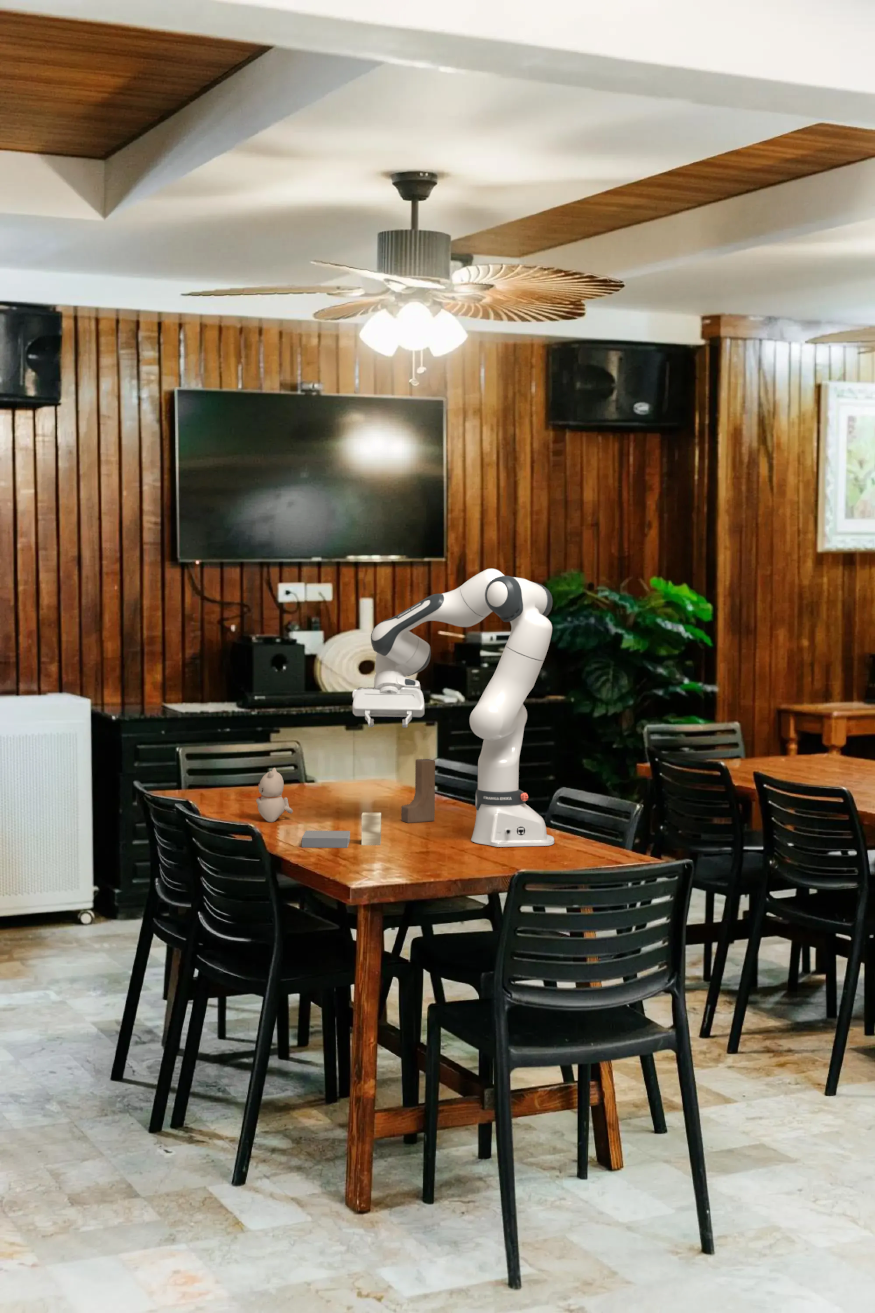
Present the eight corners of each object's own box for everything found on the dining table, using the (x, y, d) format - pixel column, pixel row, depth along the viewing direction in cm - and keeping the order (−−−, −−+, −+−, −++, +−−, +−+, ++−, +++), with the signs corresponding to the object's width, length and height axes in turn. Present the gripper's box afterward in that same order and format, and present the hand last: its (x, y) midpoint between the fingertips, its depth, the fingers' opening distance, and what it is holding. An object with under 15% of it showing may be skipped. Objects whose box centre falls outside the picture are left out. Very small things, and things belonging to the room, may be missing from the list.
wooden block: (407, 823, 445) (408, 761, 445) (400, 821, 449) (401, 760, 449) (435, 821, 450) (435, 760, 449) (428, 819, 454) (428, 758, 453)
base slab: (350, 840, 416) (350, 831, 415) (347, 847, 404) (347, 838, 403) (305, 839, 416) (305, 830, 415) (301, 847, 404) (301, 838, 403)
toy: (260, 816, 456) (260, 766, 455) (295, 817, 455) (295, 766, 455) (253, 822, 444) (254, 771, 443) (289, 823, 443) (290, 771, 442)
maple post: (380, 842, 413) (381, 812, 413) (380, 845, 408) (380, 815, 408) (362, 842, 413) (362, 812, 413) (361, 845, 408) (361, 815, 408)
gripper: (352, 680, 432) (350, 718, 423) (424, 681, 432) (424, 719, 423) (353, 694, 437) (350, 732, 428) (424, 696, 437) (424, 733, 428)
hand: (387, 726), depth 425 cm, fingers open, 8 cm apart
